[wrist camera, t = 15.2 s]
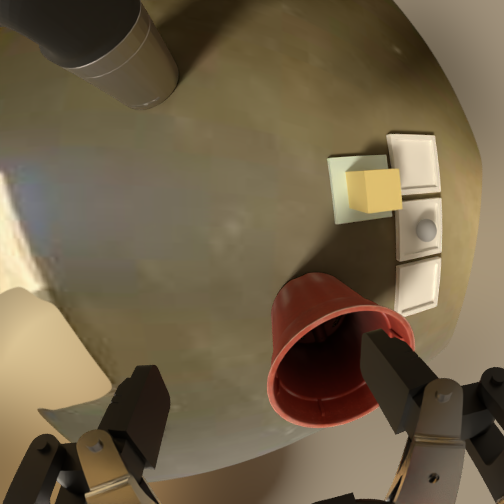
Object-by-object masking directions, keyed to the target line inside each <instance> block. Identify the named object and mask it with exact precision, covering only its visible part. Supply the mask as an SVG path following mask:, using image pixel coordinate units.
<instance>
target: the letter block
mask: <svg viewBox="0 0 504 504" xmlns="http://www.w3.org/2000/svg"><path fill="white" fill-rule="evenodd" d="M345 174H346V182H347V191H348V200H349V208H350V209H354V210H357V211H361V212H365V213H368V214H369V213H376V212H384V211H392V210H399V209H402V194H401V183H400V173H399V169H375V170H361V171H349V172H345Z"/></svg>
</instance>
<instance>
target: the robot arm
mask: <svg viewBox="0 0 504 504" xmlns="http://www.w3.org/2000/svg"><path fill="white" fill-rule="evenodd" d="M0 27H7V28H10V29H12V30H14V31H16V32H18V33H20V34H22V35H24V36H26V37H27V38H29V39H31V40H32V41H34V42H36V43H37V44H39V47H40V50H41V53H42V54H43V56H44V57H45V58H47V59H48V60H50V61H52V62H53V63H55V64H57V65H59V66H61V67H63V68H64V69H66V70H68V71H70V72H71V73H73V74H75V75H77V76H79V77H80V78H82V79H84V80H85V81H87V82H89V83H90V84H92V85H94V86H95V87H97V88H99V89H100V90H102V91H104V92H105V93H107V94H109V95H110V96H112V97H113V98H115V99H117V100H118V101H120V102H121V103H123V104H125V105H126V106H128V107H130V108H133V109H148V108H152V107H154V106H157V105H158V104H160V103H162V102H163V101H164V100H165V99H167V98H168V97H169V96H170V94H171V93H172V92H173V90H174V89H175V87H176V85H177V82H178V76H179V72H178V67H177V65H176V62H175V61H174V59H173V57H172V55H171V53H170V51H169V50H168V48H167V46H166V44H165V42H164V41H163V39H162V37H161V35H160V34H159V32H158V30H157V28H156V26H155V25H154V23H153V21H152V19H151V18H150V16H149V14H148V13H147V11H146V9H145V8H144V6H143V4H142V2H141V1H140V0H0ZM360 369H361V373H362V376H363V379H364V380H365V382H366V384H367V385H368V387H369V389H370V391H371V392H372V394H373V396H374V397H375V399H376V401H377V403H378V404H379V406H380V408H381V409H382V411H383V413H384V415H385V417H386V418H387V420H388V422H389V424H390V425H391V427H392V429H393V431H394V432H395V434H399V433H401V432H404V431H406V432H407V434H408V435H409V436H408V438H407V442H406V445H405V448H404V451H403V454H402V457H401V461H400V464H399V466H398V469H397V472H396V475H395V478H394V480H393V482H392V485H391V487H390V489H389V491H388V493H387V495H386V497H385V500H384V501H383V500H377V499H355V498H354V495H353V493H349V494H345V495H342V496H338V497H335V498H331V499H327V500H322V501H318V502H315V503H312V504H455V501H456V497H457V493H458V489H459V484H460V479H461V473H462V468H463V461H464V454H465V449H466V450H467V452H468V454H469V455H470V457H471V459H472V460H473V462H474V464H475V466H476V467H477V469H478V471H479V472H480V474H481V476H482V478H483V480H484V482H485V483H486V485H487V487H488V489H489V491H490V493H491V495H492V497H493V498H494V500H495V502H496V504H504V436H503V434H502V433H501V432H500V430H499V429H498V427H497V426H496V425H495V423H494V420H495V419H496V421H497V422H498V423H499V425H500V426H501V427H502V428H503V430H504V369H503V368H499V367H493V368H489V369H487V370H486V371H485V372H484V373H483V374H482V376H481V380H480V382H477V383H472V384H468V385H463V386H460V385H459V384H458V383H457V382H456V381H454V380H452V379H448V378H438V377H437V376H436V375H435V374H434V372H432V370H431V369H430V368H429V367H428V366H427V365H426V363H425V362H424V361H423V360H422V359H421V358H420V357H418V355H417V354H416V353H415V352H414V351H413V349H412V348H411V347H410V346H409V345H408V344H407V343H406V342H405V341H402V340H400V339H398V338H396V337H393V338H390V337H389V336H388V335H387V333H386V332H385V331H384V330H383V329H381V328H380V329H377V330H373V331H370V332H366V333H363V335H362V342H361V359H360ZM169 409H170V396H169V393H168V390H167V388H166V386H165V384H164V381H163V379H162V377H161V374H160V372H159V369H158V368H157V366H156V365H142V366H136V368H135V370H134V372H133V374H132V376H131V378H126V379H125V380H124V381H123V382H122V383H121V384H120V385H119V386H118V388H117V390H116V392H115V394H114V396H113V398H112V400H111V404H109V406H108V408H107V410H106V412H105V414H104V416H103V419H102V421H101V423H100V425H99V427H98V429H95V430H90V431H88V432H86V433H84V434H83V435H82V436H81V437H80V438H79V439H78V441H77V443H65V444H61V443H60V442H59V441H58V440H57V439H56V437H55V436H53V435H51V434H42V435H40V436H38V437H36V438H35V439H34V440H33V441H32V443H31V444H30V446H29V448H28V450H27V452H26V454H25V456H24V458H23V460H22V462H21V464H20V466H19V468H18V470H17V472H16V474H15V476H14V478H13V481H12V483H11V485H10V487H9V490H8V492H7V494H6V497H5V499H4V501H3V504H50V497H51V494H52V491H53V489H54V486H55V483H56V481H57V482H58V483H60V484H61V488H60V490H59V493H58V496H57V499H56V502H55V504H161V502H160V501H159V499H158V498H157V497H156V495H155V494H154V492H153V490H152V489H151V487H150V486H149V484H148V483H147V481H146V479H145V478H144V477H143V475H142V474H143V470H144V469H154V470H155V467H156V463H157V458H158V454H159V450H160V446H161V441H162V437H163V433H164V429H165V425H166V421H167V417H168V413H169Z"/></svg>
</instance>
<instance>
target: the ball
mask: <svg viewBox="0 0 504 504" xmlns="http://www.w3.org/2000/svg"><path fill="white" fill-rule="evenodd" d="M416 234H417V236H418V238H419V239H420V240H421V241H424V242H430V241H432V240H433V239H434V238H435V236H436V234H437V227H436V225H435V223H434V222H433V221H432V220H430V219H423V220H421V221H419V223H418V224H417V226H416Z"/></svg>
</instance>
